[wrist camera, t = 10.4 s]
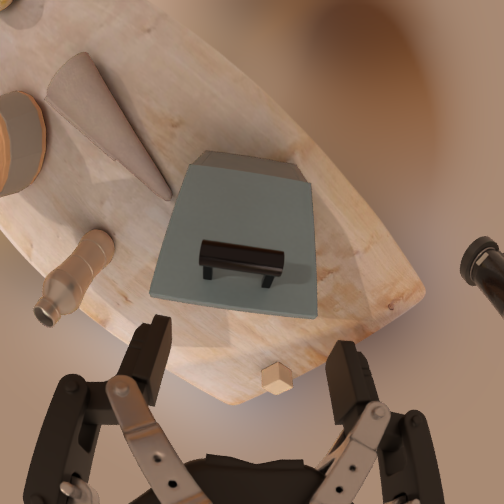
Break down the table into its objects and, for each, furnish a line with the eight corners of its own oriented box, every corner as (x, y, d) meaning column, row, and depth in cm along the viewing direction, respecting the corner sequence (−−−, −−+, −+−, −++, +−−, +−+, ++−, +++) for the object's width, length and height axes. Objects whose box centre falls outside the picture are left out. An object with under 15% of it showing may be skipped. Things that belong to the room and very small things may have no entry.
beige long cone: (205, 173, 35) (72, 50, 23) (161, 215, 38) (37, 101, 25) (208, 157, 41) (96, 53, 29) (170, 193, 44) (63, 95, 32)
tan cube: (278, 361, 60) (279, 379, 55) (291, 370, 61) (293, 387, 57) (261, 370, 61) (261, 387, 57) (275, 378, 63) (275, 395, 59)
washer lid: (314, 319, 22) (339, 294, 18) (150, 297, 21) (136, 265, 17) (308, 187, 30) (323, 152, 26) (189, 169, 29) (189, 131, 25)
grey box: (277, 249, 45) (282, 287, 37) (196, 237, 45) (183, 273, 36) (296, 164, 39) (309, 184, 30) (205, 150, 38) (190, 165, 29)
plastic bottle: (110, 222, 43) (45, 294, 26) (123, 256, 46) (71, 336, 29) (83, 228, 44) (17, 296, 26) (96, 260, 47) (42, 335, 30)
